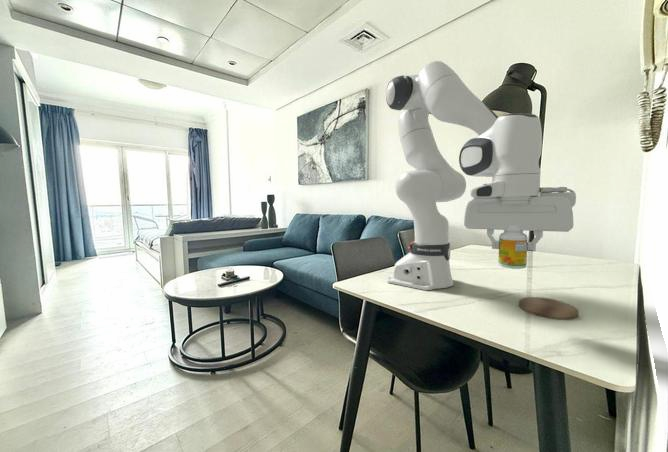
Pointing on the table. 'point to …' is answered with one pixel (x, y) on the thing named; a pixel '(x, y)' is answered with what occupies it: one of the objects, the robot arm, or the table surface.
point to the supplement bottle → (513, 248)
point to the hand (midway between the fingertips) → (512, 249)
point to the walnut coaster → (548, 308)
